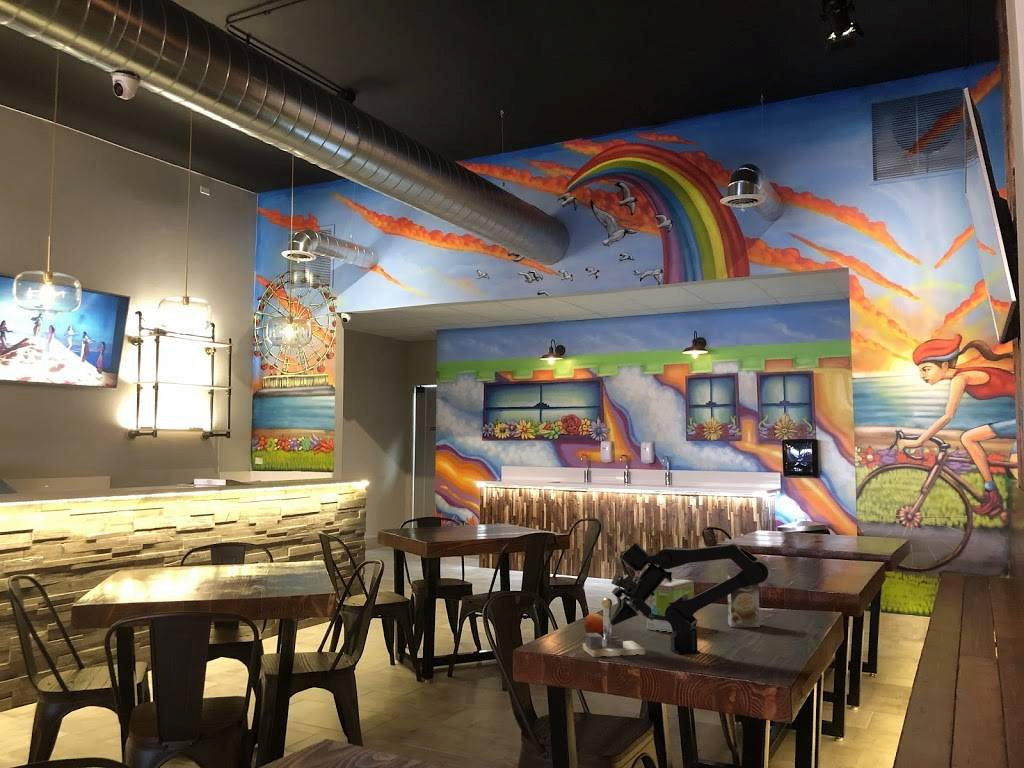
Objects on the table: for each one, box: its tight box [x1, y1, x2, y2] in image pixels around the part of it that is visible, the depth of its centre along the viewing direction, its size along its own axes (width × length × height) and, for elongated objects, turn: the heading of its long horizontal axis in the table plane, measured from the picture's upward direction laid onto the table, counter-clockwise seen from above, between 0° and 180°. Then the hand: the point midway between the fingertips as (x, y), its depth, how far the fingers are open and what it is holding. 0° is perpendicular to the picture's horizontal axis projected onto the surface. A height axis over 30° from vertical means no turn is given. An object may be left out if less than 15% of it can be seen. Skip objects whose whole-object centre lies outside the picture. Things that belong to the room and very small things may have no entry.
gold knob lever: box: [601, 597, 613, 647], centre depth 232 cm, size 6×3×13 cm, turn 102°
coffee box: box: [727, 573, 760, 628], centre depth 266 cm, size 9×6×16 cm
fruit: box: [584, 612, 604, 638], centre depth 251 cm, size 8×8×8 cm
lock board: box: [582, 632, 646, 658], centre depth 232 cm, size 15×10×5 cm, turn 102°
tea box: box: [646, 578, 695, 633], centre depth 264 cm, size 15×10×15 cm, turn 143°
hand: (611, 623), depth 233 cm, fingers closed
